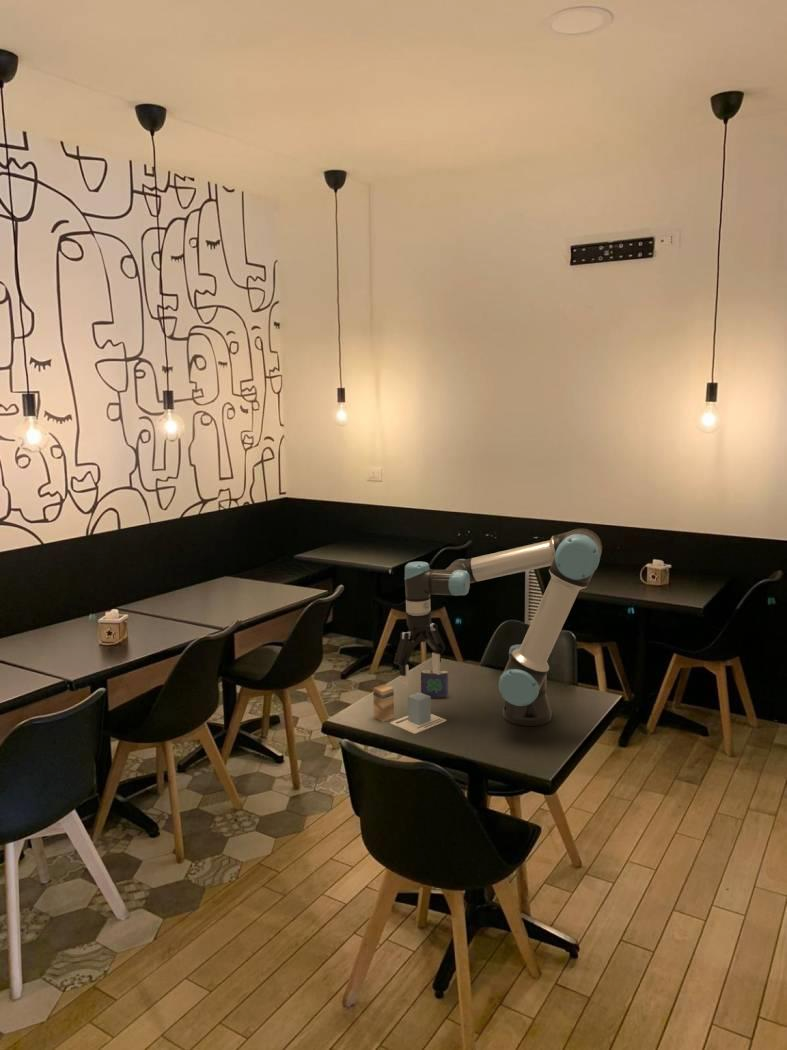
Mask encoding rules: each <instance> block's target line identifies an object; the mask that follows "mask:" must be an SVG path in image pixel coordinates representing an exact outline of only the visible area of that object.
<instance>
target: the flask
mask: <svg viewBox="0 0 787 1050" xmlns="http://www.w3.org/2000/svg"><path fill="white" fill-rule="evenodd" d="M440 673H441V674H439V675H438V674H435V673H433V668H432V669H431V670H430V669H428V670H427V669H425V670H421V672H420V693H423V694H425V695H428V696H431V700H432V699H447V698H448V697H449V672H448V671H447V670H440Z"/></svg>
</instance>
